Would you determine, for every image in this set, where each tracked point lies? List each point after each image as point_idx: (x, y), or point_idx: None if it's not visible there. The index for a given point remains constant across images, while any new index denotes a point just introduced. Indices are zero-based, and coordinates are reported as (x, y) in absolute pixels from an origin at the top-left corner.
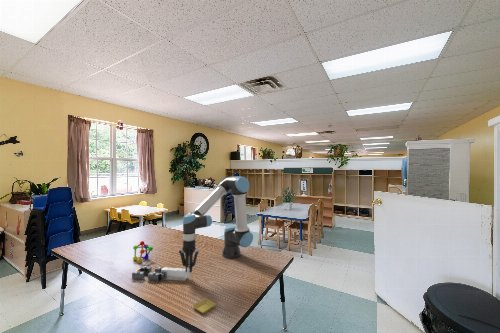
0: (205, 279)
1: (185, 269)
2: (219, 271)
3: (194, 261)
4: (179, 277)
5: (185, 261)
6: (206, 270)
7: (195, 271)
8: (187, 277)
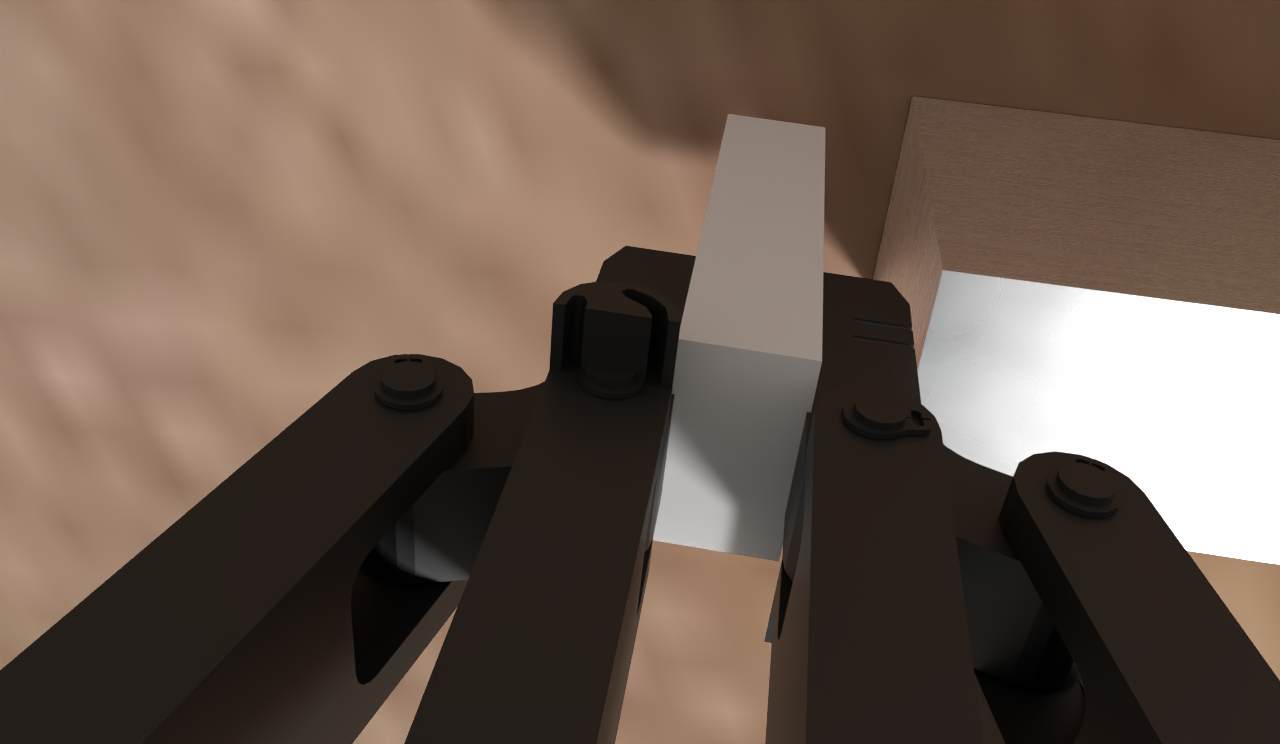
0: (200, 182)
1: (950, 426)
2: (40, 601)
3: (163, 570)
4: (1171, 166)
5: (968, 671)
6: (410, 672)
7: (709, 649)
8: (803, 133)
